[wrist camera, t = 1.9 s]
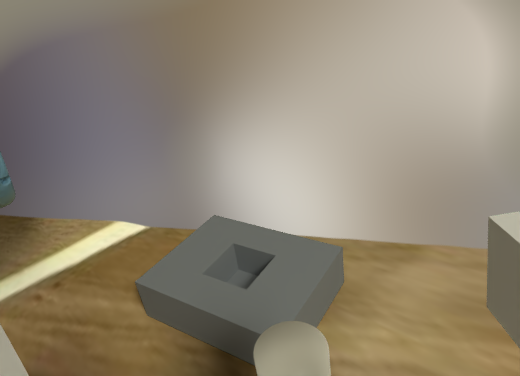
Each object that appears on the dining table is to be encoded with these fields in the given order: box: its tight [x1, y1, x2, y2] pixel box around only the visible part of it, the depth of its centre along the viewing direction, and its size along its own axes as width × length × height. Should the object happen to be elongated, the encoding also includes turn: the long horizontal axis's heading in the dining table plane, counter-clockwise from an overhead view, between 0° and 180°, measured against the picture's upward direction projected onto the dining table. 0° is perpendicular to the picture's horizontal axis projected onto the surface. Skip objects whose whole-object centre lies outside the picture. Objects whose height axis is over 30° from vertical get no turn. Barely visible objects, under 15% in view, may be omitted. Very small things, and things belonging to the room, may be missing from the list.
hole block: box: [135, 215, 344, 366], centre depth 45 cm, size 18×14×5 cm
